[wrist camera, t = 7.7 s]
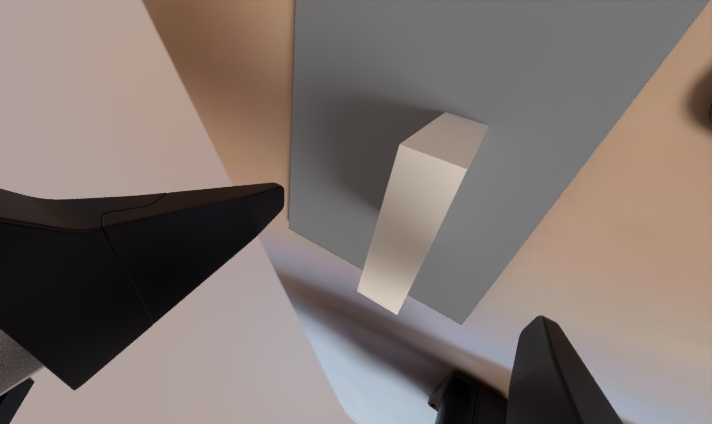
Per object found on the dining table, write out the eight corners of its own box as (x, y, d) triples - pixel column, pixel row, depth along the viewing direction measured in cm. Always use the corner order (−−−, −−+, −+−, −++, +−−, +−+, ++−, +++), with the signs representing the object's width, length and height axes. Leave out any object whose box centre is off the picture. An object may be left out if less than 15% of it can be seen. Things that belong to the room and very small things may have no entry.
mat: (463, 315, 18) (461, 324, 18) (294, 224, 23) (288, 228, 22) (719, -27, 8) (736, -35, 7) (309, -69, 12) (298, -76, 12)
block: (445, 112, 12) (399, 144, 8) (488, 125, 11) (467, 169, 7) (403, 226, 16) (356, 291, 12) (433, 240, 16) (396, 315, 11)
